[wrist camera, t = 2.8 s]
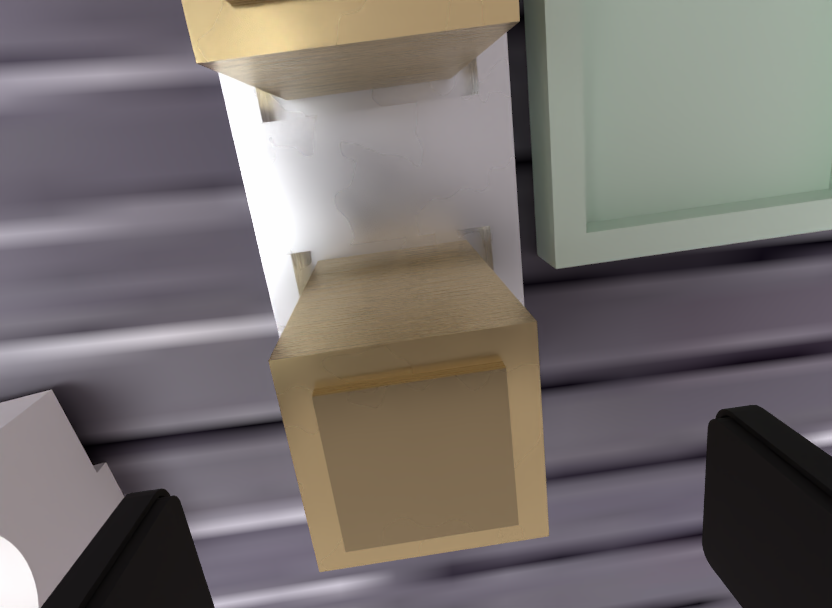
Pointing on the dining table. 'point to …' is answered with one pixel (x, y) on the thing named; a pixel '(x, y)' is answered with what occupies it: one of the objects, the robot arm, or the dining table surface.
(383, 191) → the white flat board
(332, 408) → the wooden crate cube
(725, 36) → the tray
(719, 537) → the robot arm
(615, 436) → the dining table surface
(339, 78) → the cream square knob
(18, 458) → the bracket
